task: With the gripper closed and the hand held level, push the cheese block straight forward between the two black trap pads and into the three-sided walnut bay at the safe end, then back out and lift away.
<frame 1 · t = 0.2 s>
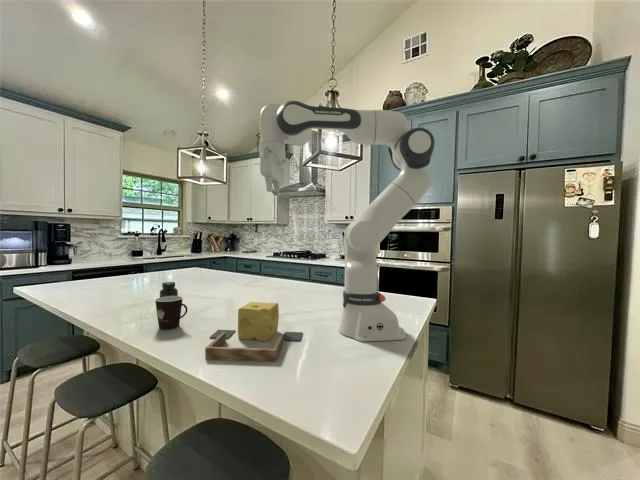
hand: (272, 193, 101), 47 cm above the counter, tool pointing down, fingers open, 8 cm apart
cheese: (258, 335, 97), on the counter
supplement bottle: (169, 311, 123), on the counter
trap pads: (257, 335, 96), on the counter
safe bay: (248, 348, 86), on the counter
coffee mug: (170, 328, 102), on the counter
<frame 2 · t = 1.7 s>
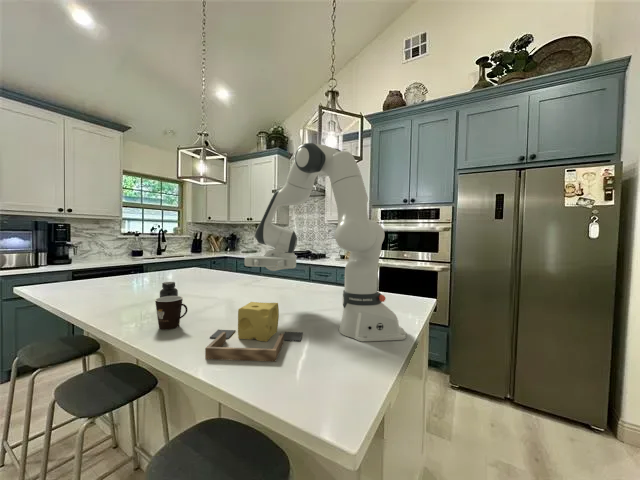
hand: (266, 264, 108), 22 cm above the counter, tool horizontal, fingers open, 6 cm apart
nothing on the counter moved.
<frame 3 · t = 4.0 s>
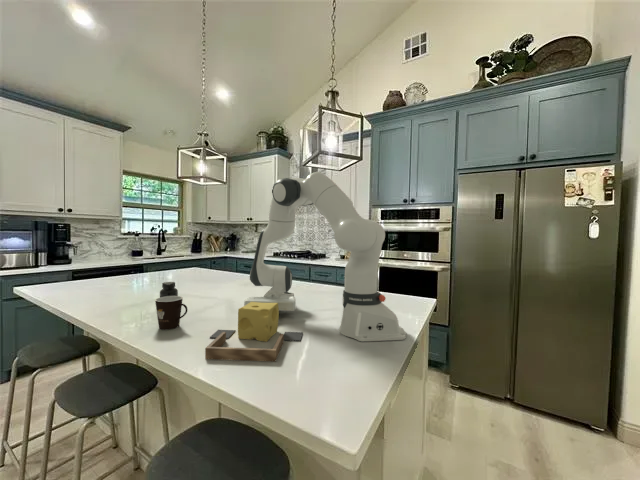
hand: (266, 309, 109), 5 cm above the counter, tool horizontal, fingers closed
nothing on the counter moved.
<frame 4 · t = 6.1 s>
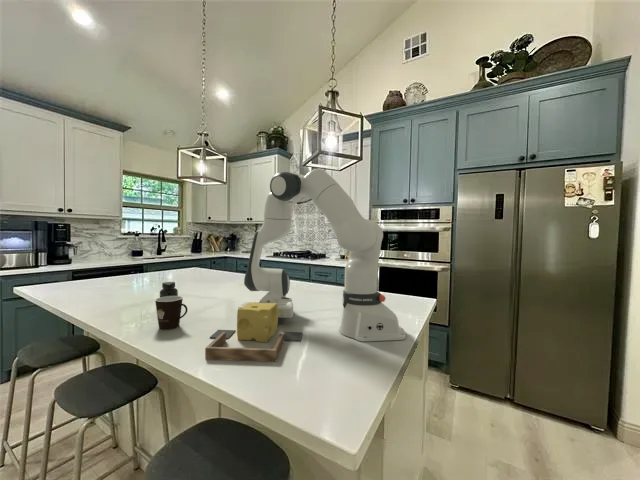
hand: (261, 316, 101), 5 cm above the counter, tool horizontal, fingers closed
cheese: (257, 336, 96), on the counter, touching gripper
everything else where it was.
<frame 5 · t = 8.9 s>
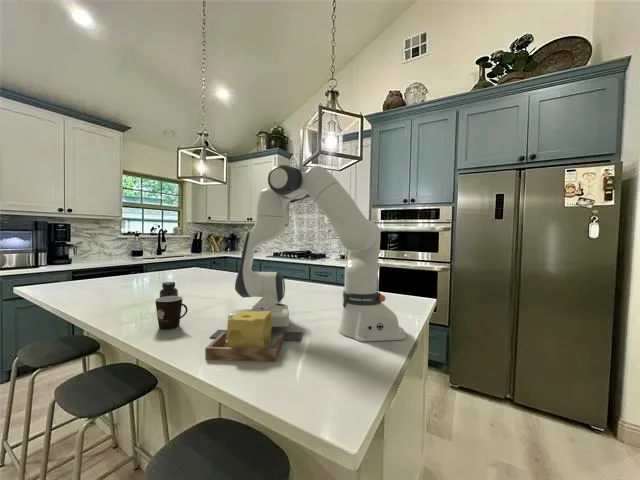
hand: (253, 325, 91), 5 cm above the counter, tool horizontal, fingers closed, pressing on cheese
cheese: (249, 349, 86), on the counter, touching gripper
everything else where it was.
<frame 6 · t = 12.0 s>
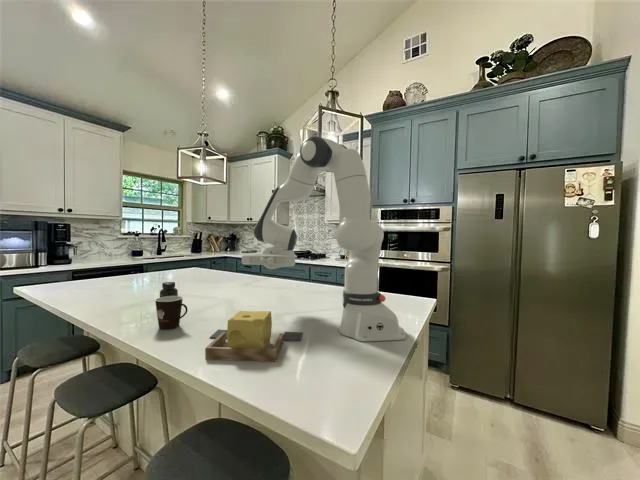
hand: (264, 261, 104), 24 cm above the counter, tool horizontal, fingers closed
cheese: (249, 349, 86), on the counter
everything else where it was.
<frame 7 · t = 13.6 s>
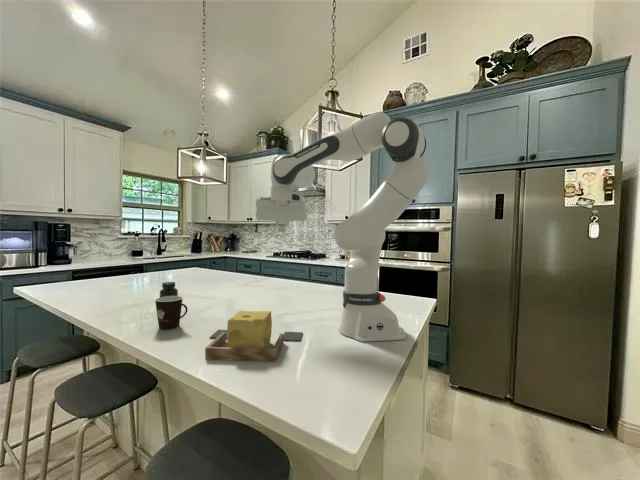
hand: (281, 232, 115), 34 cm above the counter, tool pointing down, fingers closed
nothing on the counter moved.
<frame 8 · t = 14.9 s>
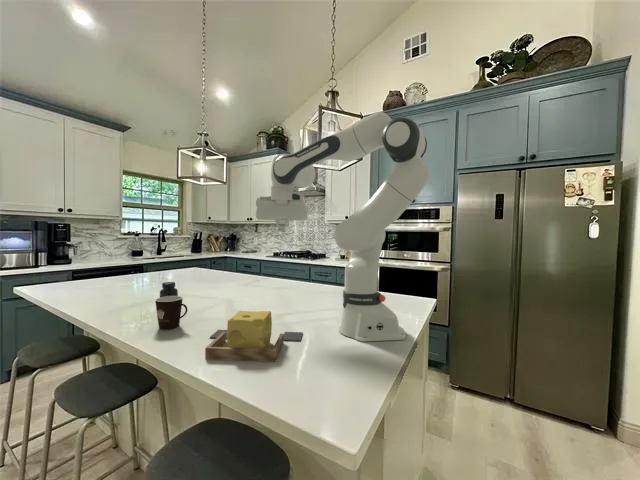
hand: (281, 231, 115), 34 cm above the counter, tool pointing down, fingers closed
nothing on the counter moved.
at the end: cheese inside the target area (1.0 cm from its centre), on the counter; cheese touching counter; cheese tilted 0° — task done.
